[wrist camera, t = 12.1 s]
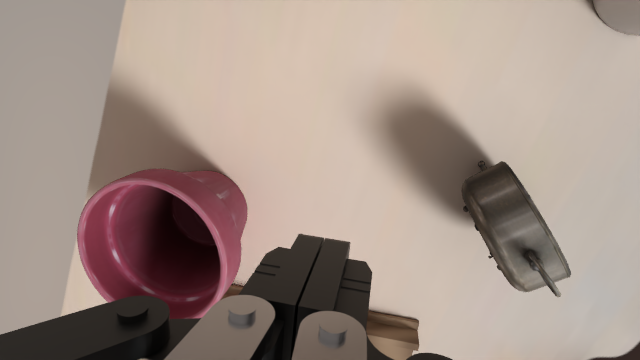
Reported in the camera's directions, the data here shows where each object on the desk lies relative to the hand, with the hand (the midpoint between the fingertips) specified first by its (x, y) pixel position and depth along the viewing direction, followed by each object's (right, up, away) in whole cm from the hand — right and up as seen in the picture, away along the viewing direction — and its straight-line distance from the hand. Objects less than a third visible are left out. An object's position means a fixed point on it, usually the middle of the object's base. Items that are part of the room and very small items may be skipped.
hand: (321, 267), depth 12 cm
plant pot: (-13, -1, +35) cm, 37 cm away
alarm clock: (+18, 0, +30) cm, 35 cm away
